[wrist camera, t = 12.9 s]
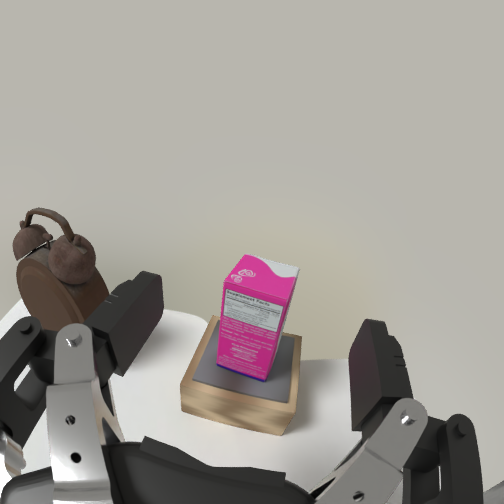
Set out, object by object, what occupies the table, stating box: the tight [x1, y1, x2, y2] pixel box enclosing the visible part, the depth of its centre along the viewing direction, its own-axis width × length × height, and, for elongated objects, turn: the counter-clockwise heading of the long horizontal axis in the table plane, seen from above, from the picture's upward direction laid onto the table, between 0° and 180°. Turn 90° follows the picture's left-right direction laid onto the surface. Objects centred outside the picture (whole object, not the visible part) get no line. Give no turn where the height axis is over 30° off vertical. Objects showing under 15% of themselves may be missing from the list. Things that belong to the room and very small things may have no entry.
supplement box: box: [216, 254, 299, 382], centre depth 27 cm, size 6×6×12 cm
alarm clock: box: [13, 208, 109, 331], centre depth 29 cm, size 14×7×20 cm, turn 79°
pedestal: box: [180, 315, 302, 436], centre depth 31 cm, size 12×12×6 cm
